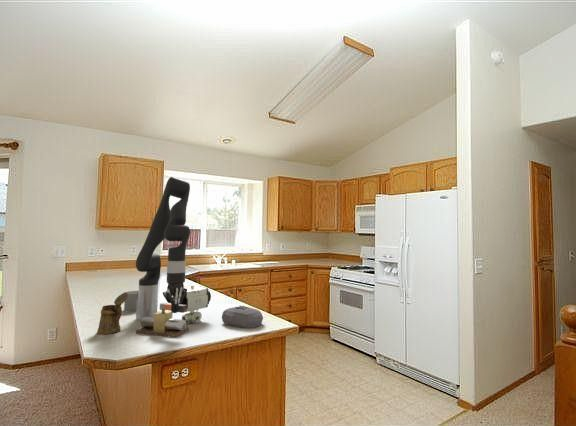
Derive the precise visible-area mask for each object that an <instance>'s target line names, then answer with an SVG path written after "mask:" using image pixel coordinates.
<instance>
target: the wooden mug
mask: <svg viewBox="0 0 576 426" xmlns="http://www.w3.org/2000/svg"><path fill="white" fill-rule="evenodd" d="M126 292H127V291H125V292H123V293H121V294H119V295H118V296H117V297H116V298H115V299H114V302H113V303H114V304H106V305H103V306H102V307H101V310H100V318H99V323H98V328H97V331H96V334H97V335H104V336H105V335H113V334H115V333H116V334H117V333H118V332H120V331H121V325H120V320H121V318H122V314H123V309H122V306H121V305H122V304H124V302H125V300H126V299H127V297H128V294H127V293H126Z"/></svg>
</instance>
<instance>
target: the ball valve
mask: <svg viewBox="0 0 576 426" xmlns="http://www.w3.org/2000/svg"><path fill="white" fill-rule="evenodd" d="M186 289H187V292H186V294H185V296H184V298H183V300H182V301H180V303H179V304H182V305H187V312H186V313H185V314H182V315H181V316H182V317H181V320H185V322H186V324H191V323H192V324H197V323H200V321H201V319H202V318H203V317H202V316H203V314H202V313H201V312H200V311H199V310H201V309H205V308H208V306H209V305H210V302H211V298H212V296H211V292H210V290H209V288H208V287H204V286H195V285H190V287H189V288H186ZM173 300H174V299H173Z"/></svg>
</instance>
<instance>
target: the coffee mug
mask: <svg viewBox="0 0 576 426" xmlns="http://www.w3.org/2000/svg"><path fill="white" fill-rule="evenodd" d="M125 292H126V293H127V294H128V297H127V299H126V300H125V302H123V304H124V305H123V307H124V308H123V312H127V313H128V312H129V313H134V312H135V313H136V303H137V300H138V296H139V290H129V291H125Z"/></svg>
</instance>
